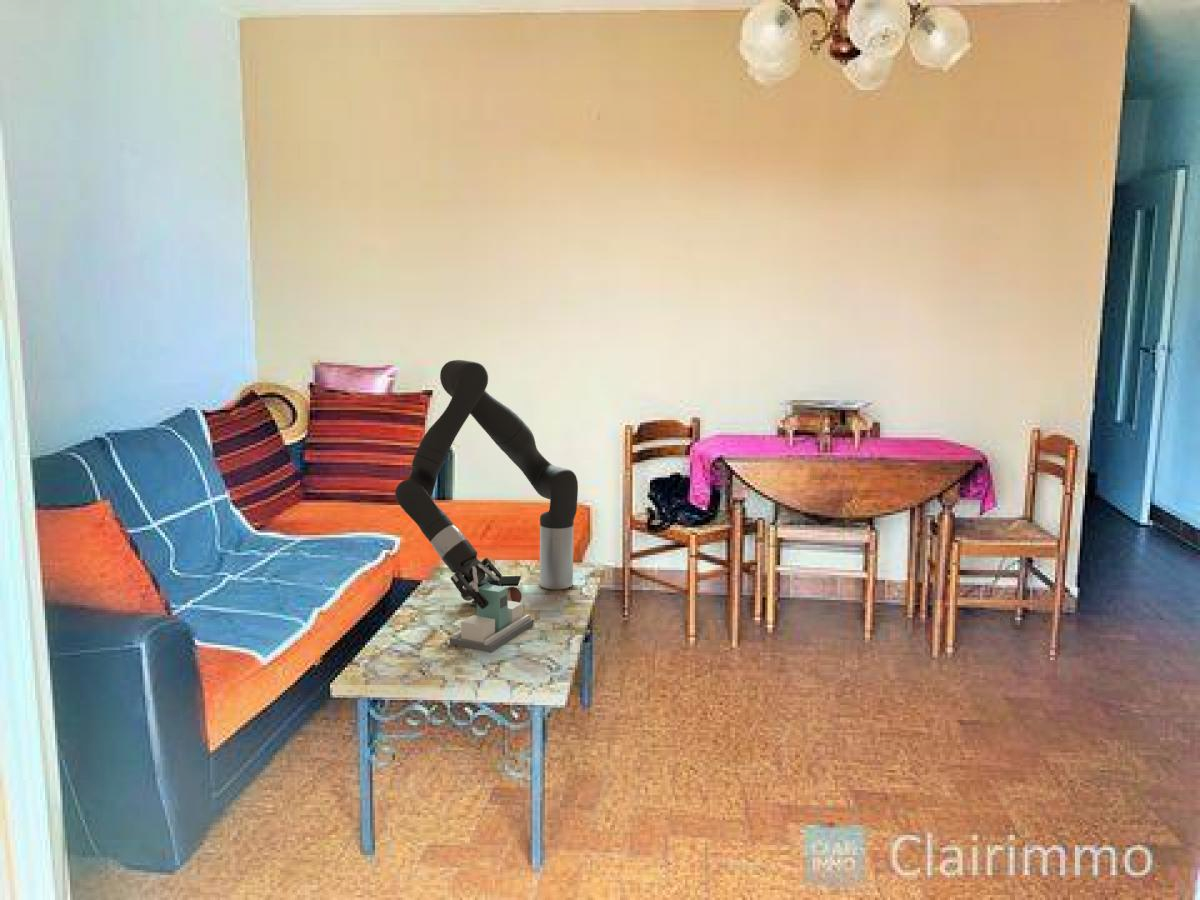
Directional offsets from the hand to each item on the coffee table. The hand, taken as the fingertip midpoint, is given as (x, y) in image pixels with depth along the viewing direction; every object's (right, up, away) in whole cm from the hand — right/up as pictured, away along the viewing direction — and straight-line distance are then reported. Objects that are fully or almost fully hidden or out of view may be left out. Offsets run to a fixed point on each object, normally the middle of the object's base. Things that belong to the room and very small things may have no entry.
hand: (495, 601), depth 224 cm
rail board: (-1, -8, +2) cm, 8 cm away
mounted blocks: (-1, -7, +1) cm, 7 cm away
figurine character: (-3, -5, +23) cm, 24 cm away
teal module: (-1, -7, +1) cm, 7 cm away
